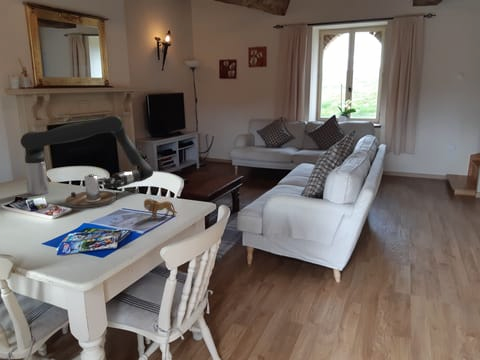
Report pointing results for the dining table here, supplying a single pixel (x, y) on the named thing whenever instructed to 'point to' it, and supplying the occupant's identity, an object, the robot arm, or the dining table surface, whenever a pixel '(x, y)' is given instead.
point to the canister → (92, 188)
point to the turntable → (81, 198)
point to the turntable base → (91, 205)
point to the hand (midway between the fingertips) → (98, 185)
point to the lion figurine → (158, 207)
